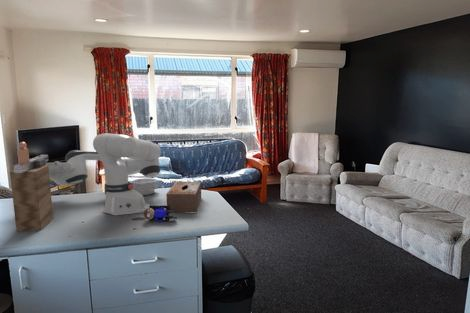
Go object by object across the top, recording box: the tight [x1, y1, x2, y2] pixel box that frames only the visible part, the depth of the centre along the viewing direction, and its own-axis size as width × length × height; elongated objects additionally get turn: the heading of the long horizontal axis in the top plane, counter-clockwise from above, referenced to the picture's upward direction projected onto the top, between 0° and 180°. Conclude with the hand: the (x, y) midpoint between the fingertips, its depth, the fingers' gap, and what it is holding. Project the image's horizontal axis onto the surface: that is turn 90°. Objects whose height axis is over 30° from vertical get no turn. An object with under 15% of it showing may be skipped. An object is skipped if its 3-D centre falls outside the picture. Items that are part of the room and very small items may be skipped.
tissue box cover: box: [166, 181, 202, 214], centre depth 184 cm, size 26×14×10 cm, turn 179°
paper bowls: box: [130, 177, 158, 196], centre depth 207 cm, size 15×15×8 cm
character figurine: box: [143, 205, 178, 223], centre depth 160 cm, size 8×7×15 cm
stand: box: [9, 158, 54, 232], centre depth 153 cm, size 10×14×29 cm
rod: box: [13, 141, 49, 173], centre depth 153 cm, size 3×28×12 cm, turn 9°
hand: (45, 162), depth 170 cm, fingers open, 8 cm apart
